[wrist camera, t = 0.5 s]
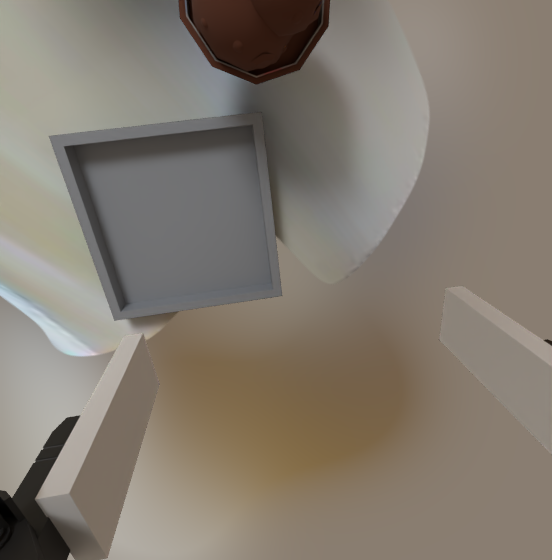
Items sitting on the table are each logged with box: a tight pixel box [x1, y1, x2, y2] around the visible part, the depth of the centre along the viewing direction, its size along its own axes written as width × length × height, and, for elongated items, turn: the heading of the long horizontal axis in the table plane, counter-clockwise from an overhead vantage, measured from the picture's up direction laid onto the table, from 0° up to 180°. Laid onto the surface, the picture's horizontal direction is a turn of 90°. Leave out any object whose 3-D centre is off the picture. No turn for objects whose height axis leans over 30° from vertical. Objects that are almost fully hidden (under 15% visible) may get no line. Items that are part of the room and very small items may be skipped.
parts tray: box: [49, 112, 282, 321], centre depth 36 cm, size 20×20×3 cm
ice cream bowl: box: [179, 0, 330, 84], centre depth 24 cm, size 11×11×15 cm
